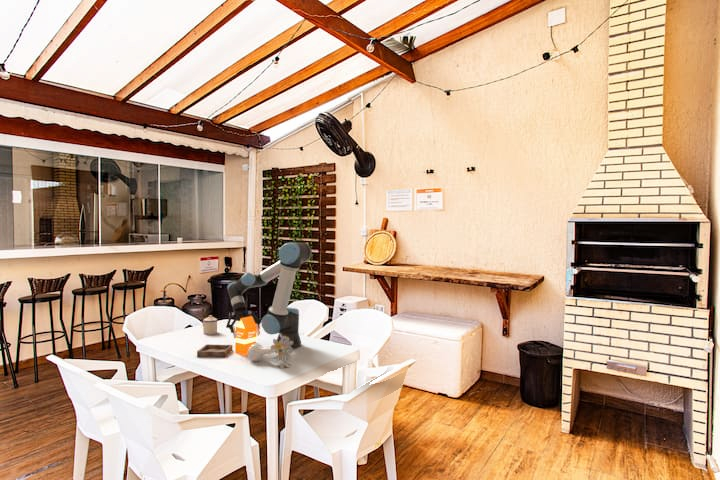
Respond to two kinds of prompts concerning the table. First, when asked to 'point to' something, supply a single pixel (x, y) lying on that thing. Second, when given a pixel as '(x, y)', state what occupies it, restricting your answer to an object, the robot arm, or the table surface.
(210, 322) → the teacup with lid
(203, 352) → the walnut tray
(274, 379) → the table surface
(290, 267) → the robot arm
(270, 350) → the flower vase
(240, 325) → the orange juice
